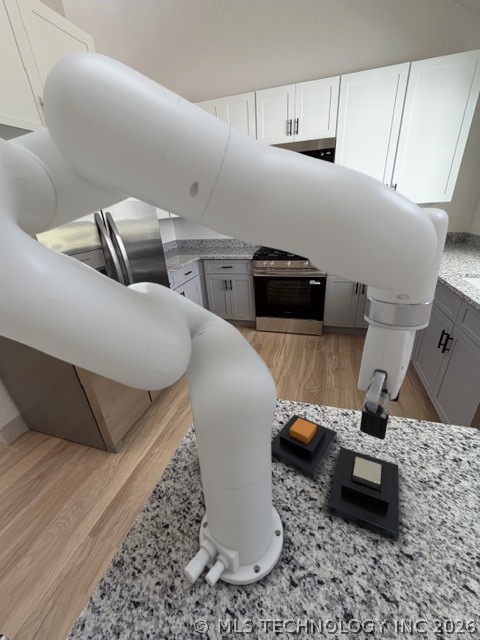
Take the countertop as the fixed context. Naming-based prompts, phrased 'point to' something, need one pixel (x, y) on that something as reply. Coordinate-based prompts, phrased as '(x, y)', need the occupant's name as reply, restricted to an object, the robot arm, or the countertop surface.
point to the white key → (367, 474)
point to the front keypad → (366, 496)
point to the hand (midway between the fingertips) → (380, 415)
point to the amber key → (303, 430)
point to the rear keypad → (303, 448)
